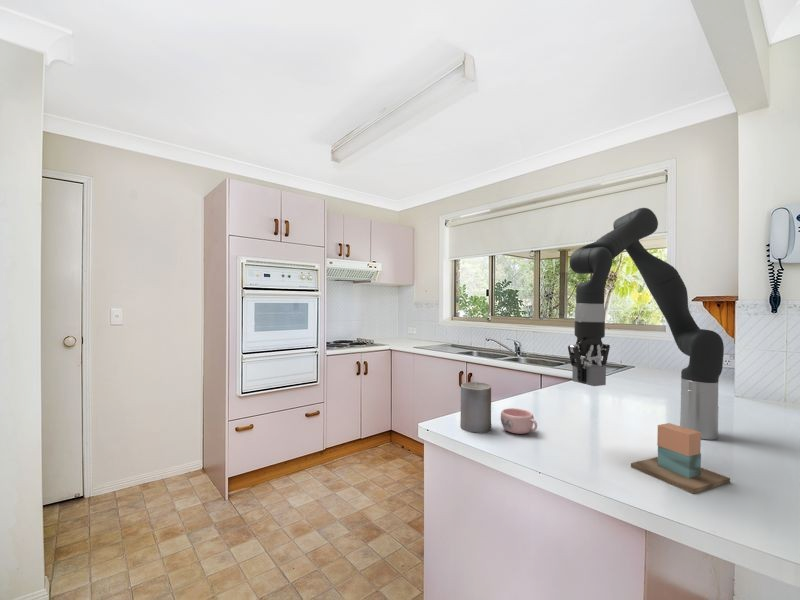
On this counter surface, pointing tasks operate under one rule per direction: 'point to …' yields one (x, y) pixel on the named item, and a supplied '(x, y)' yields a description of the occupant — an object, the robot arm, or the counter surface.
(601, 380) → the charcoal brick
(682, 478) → the plate
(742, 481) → the counter surface
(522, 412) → the mug
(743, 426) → the counter surface
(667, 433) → the terracotta brick
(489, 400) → the pillar candle
